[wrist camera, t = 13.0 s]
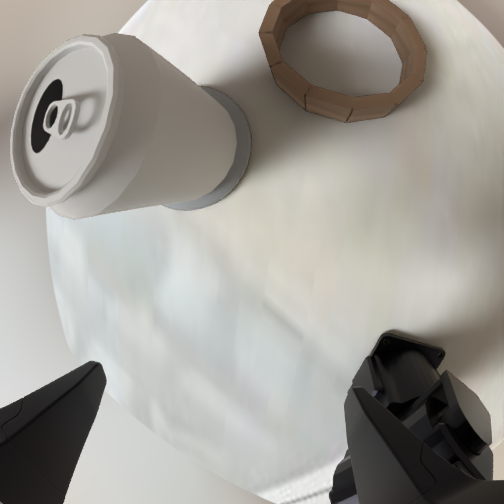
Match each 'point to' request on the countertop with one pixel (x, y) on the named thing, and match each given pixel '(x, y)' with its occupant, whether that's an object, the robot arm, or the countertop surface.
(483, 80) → the countertop surface
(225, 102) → the mat
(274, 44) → the collar
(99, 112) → the can
